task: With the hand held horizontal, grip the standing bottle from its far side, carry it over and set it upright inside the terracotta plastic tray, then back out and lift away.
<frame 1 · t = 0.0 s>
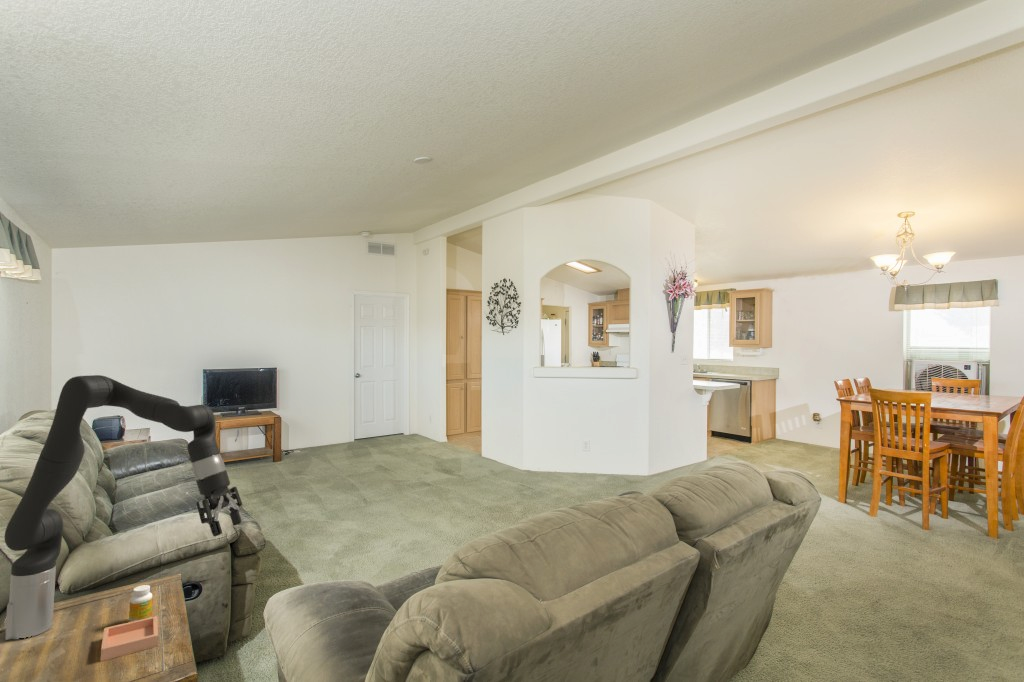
hand: (228, 529, 137), 31 cm above the table, tool tilted 20°, fingers open, 8 cm apart
supplement bottle: (140, 621, 147), on the table
tray: (130, 642, 136), on the table
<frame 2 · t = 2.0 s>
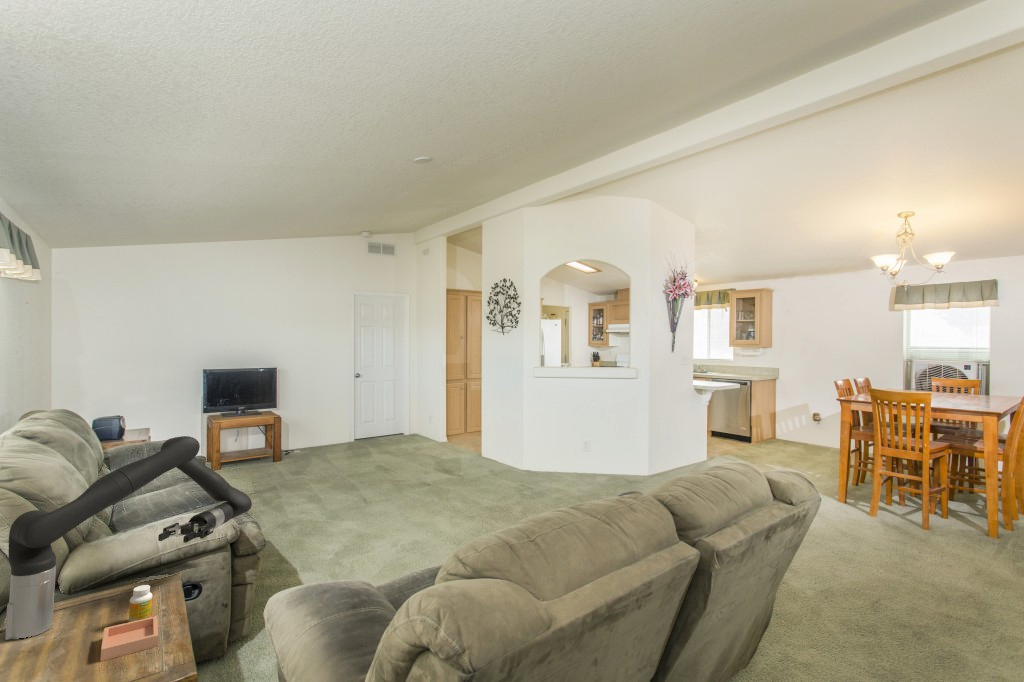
hand: (171, 538, 158), 20 cm above the table, tool horizontal, fingers open, 8 cm apart
nothing on the table moved.
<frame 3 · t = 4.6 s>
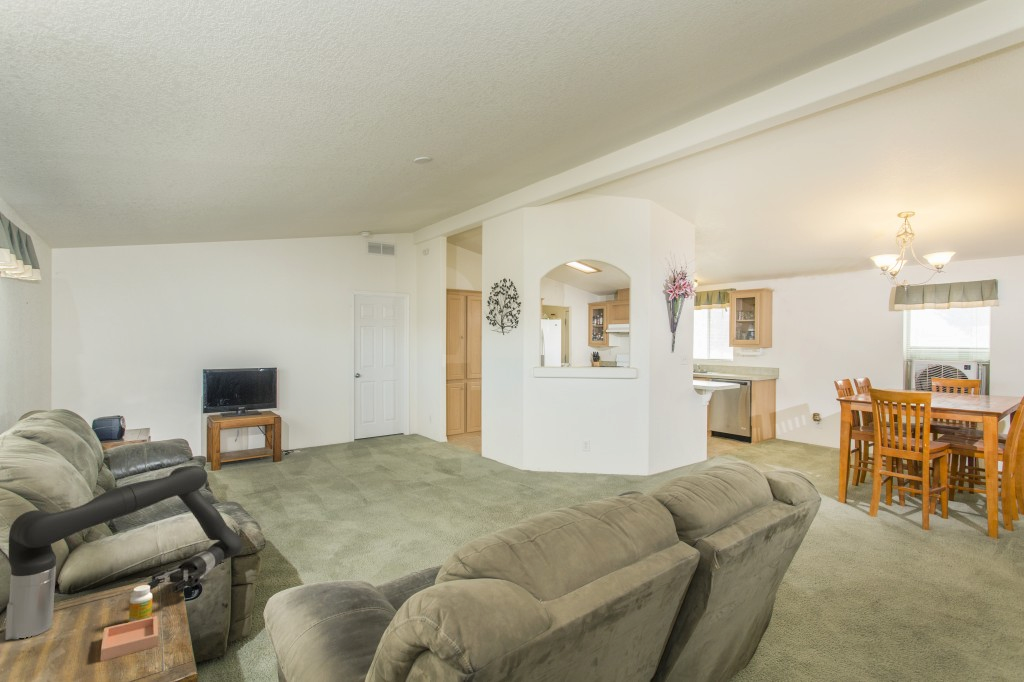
hand: (161, 588, 155), 6 cm above the table, tool horizontal, fingers open, 8 cm apart
nothing on the table moved.
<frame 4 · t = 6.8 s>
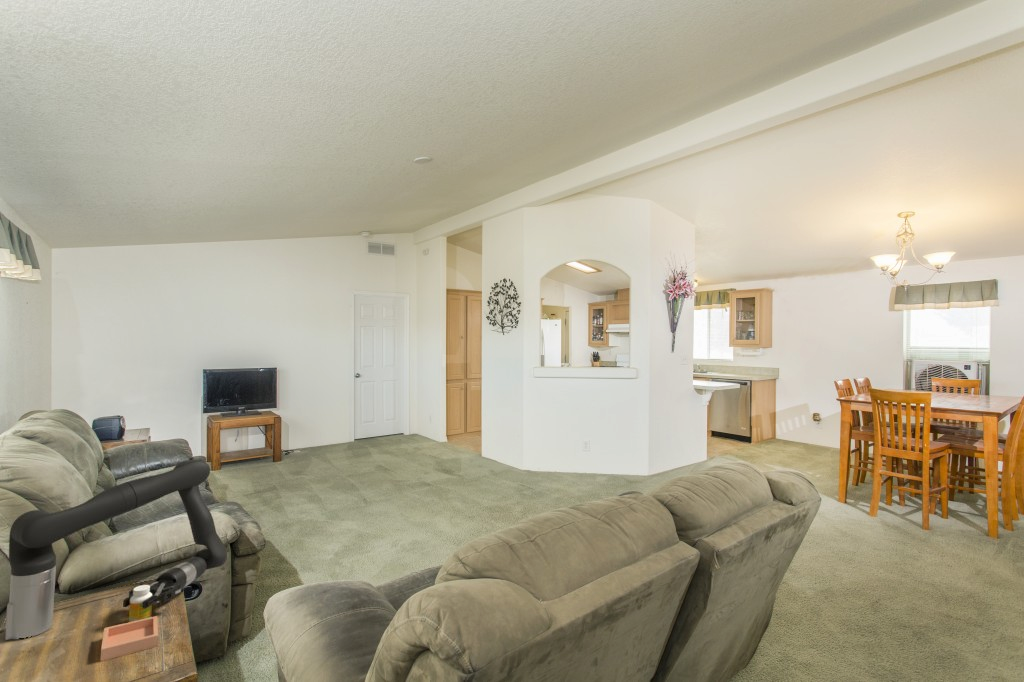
hand: (134, 604, 144), 6 cm above the table, tool horizontal, fingers closed on supplement bottle, 5 cm apart
supplement bottle: (140, 621, 147), on the table, touching gripper
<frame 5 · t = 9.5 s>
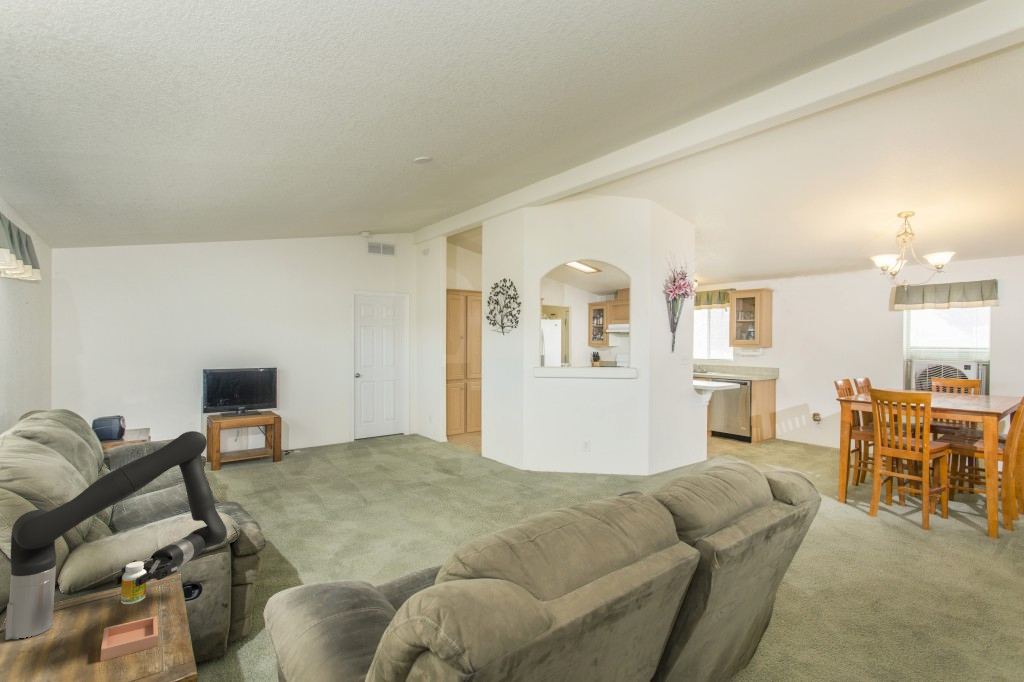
hand: (126, 581, 134), 18 cm above the table, tool horizontal, fingers closed on supplement bottle, 5 cm apart
supplement bottle: (133, 600, 136), point 11 cm above the table, touching gripper
when the fingers open (8 cm above the table, at t = 12.2 s): supplement bottle drops 1 cm, resting on tray.
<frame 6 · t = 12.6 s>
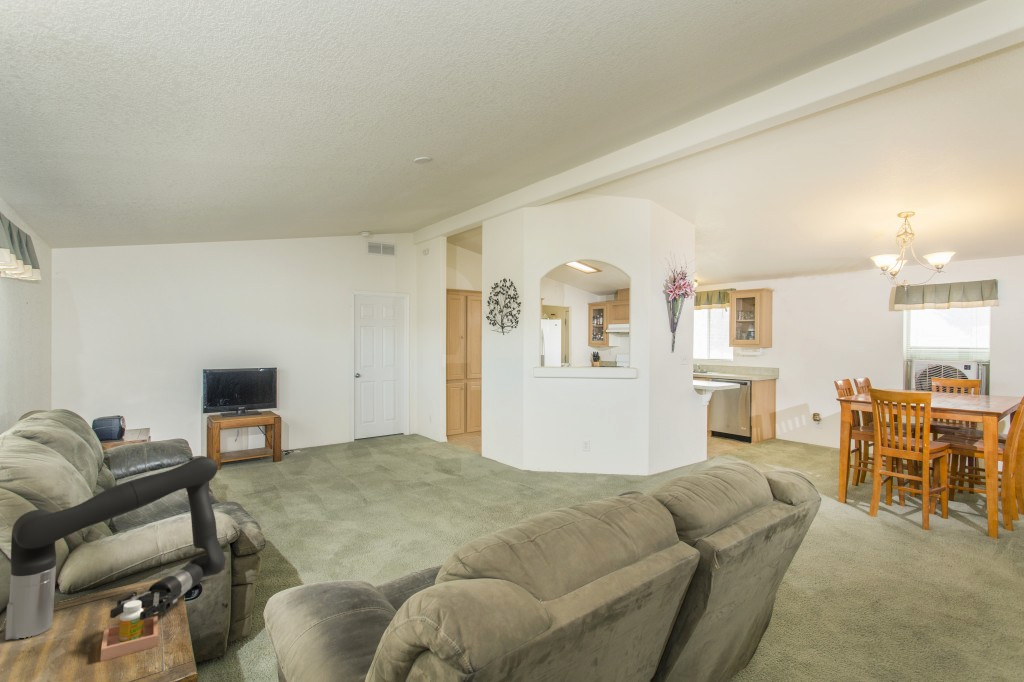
hand: (126, 615, 134), 8 cm above the table, tool horizontal, fingers open, 8 cm apart
supplement bottle: (130, 640, 136), point 1 cm above the table, touching tray
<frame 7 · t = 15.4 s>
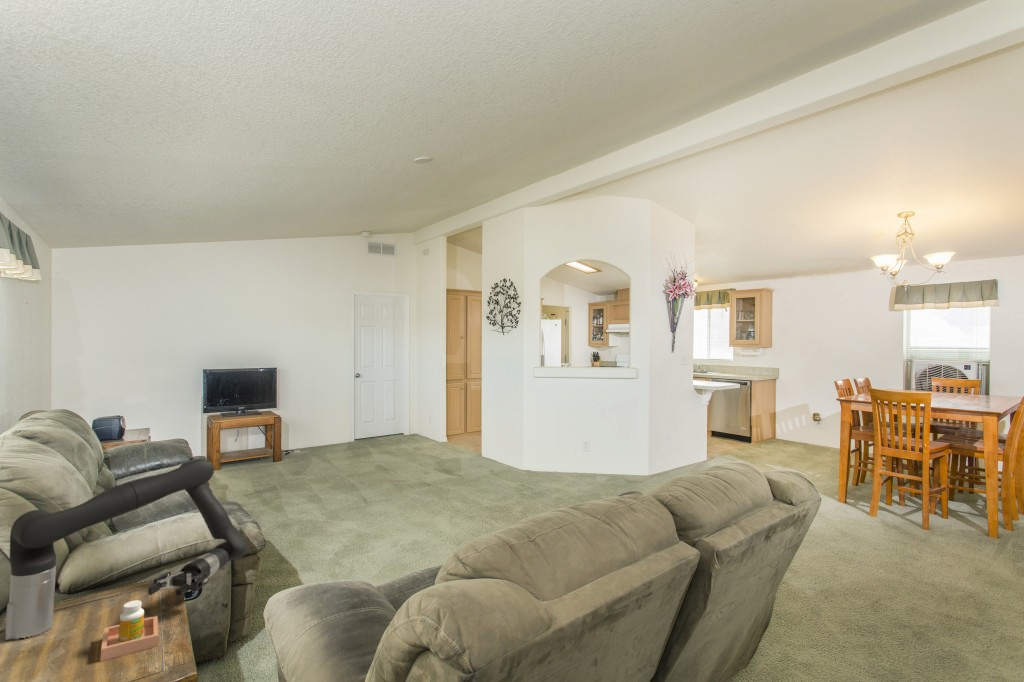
hand: (163, 592, 147), 8 cm above the table, tool horizontal, fingers open, 8 cm apart
nothing on the table moved.
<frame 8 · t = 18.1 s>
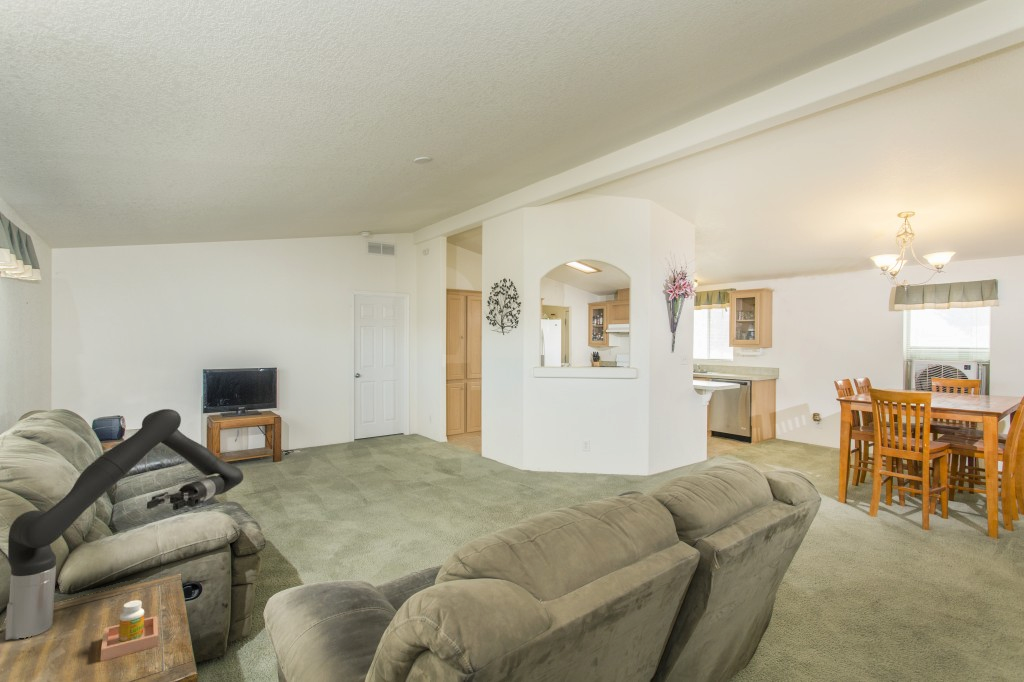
hand: (161, 506, 154), 32 cm above the table, tool horizontal, fingers open, 8 cm apart
nothing on the table moved.
at the end: supplement bottle 0.2 cm off-centre on the tray, point 0.6 cm above the tray's base; supplement bottle tilted 0°; the gripper is holding nothing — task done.
